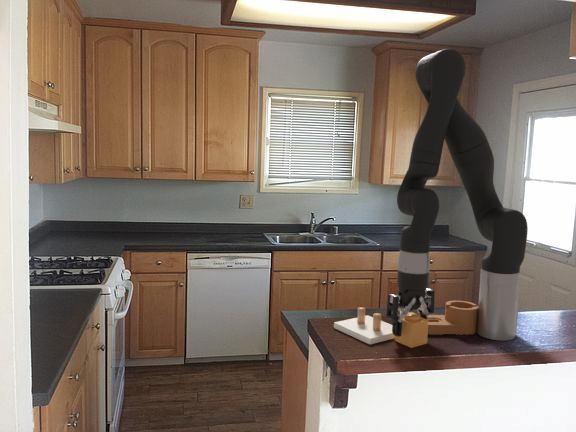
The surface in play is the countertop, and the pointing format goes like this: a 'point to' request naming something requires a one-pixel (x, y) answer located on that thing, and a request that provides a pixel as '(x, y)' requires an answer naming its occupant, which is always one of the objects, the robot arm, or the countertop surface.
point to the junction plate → (366, 327)
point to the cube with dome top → (413, 330)
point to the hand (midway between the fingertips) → (409, 332)
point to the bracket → (455, 319)
